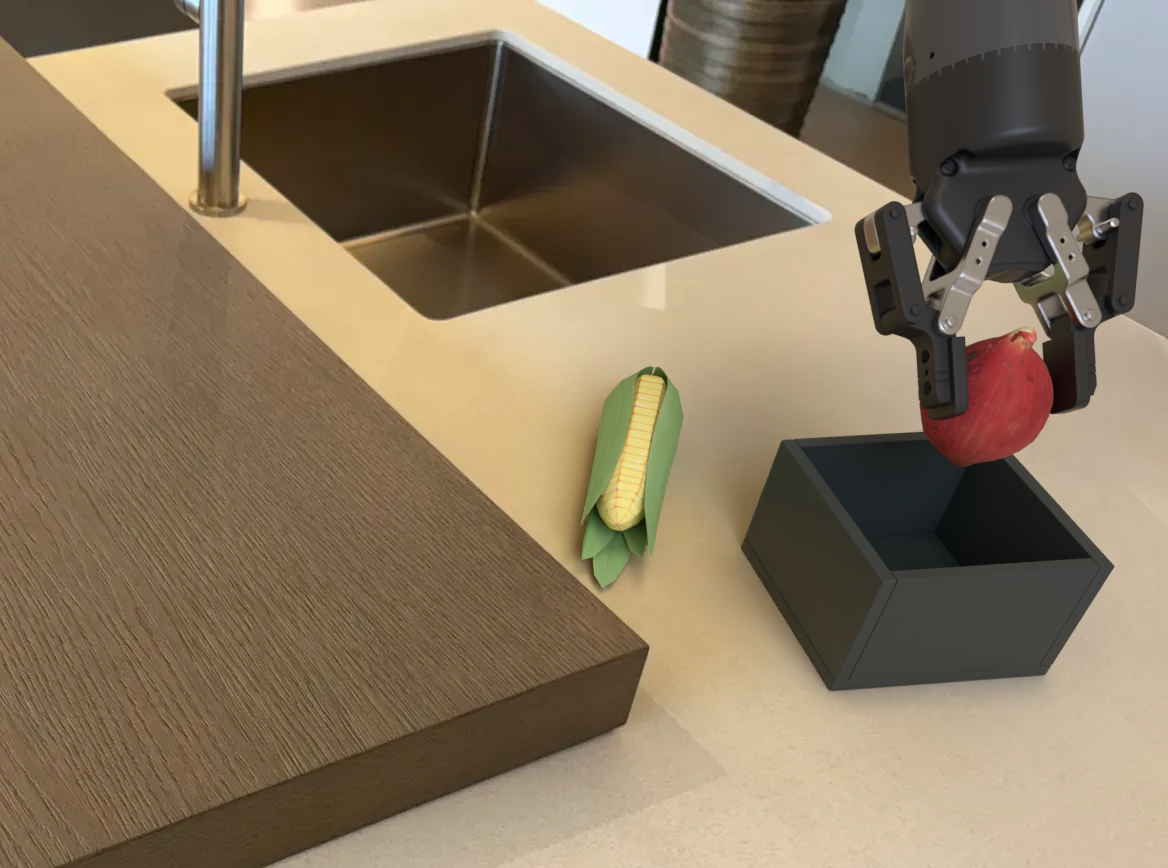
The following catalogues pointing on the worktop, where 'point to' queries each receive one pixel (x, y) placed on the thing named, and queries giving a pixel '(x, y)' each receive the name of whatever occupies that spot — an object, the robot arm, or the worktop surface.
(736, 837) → the worktop surface
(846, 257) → the worktop surface
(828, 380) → the worktop surface
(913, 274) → the robot arm
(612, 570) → the edible corn
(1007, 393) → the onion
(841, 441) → the trash bin
